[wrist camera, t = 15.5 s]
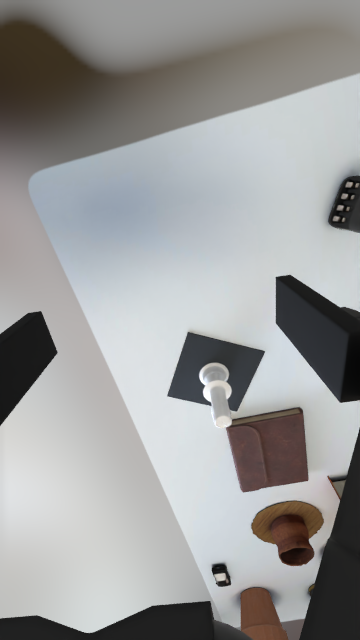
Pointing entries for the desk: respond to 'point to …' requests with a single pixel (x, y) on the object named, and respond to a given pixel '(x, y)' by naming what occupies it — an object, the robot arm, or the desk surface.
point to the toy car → (221, 576)
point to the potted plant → (260, 616)
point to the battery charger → (347, 206)
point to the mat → (211, 350)
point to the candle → (217, 392)
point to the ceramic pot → (289, 530)
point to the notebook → (269, 449)
